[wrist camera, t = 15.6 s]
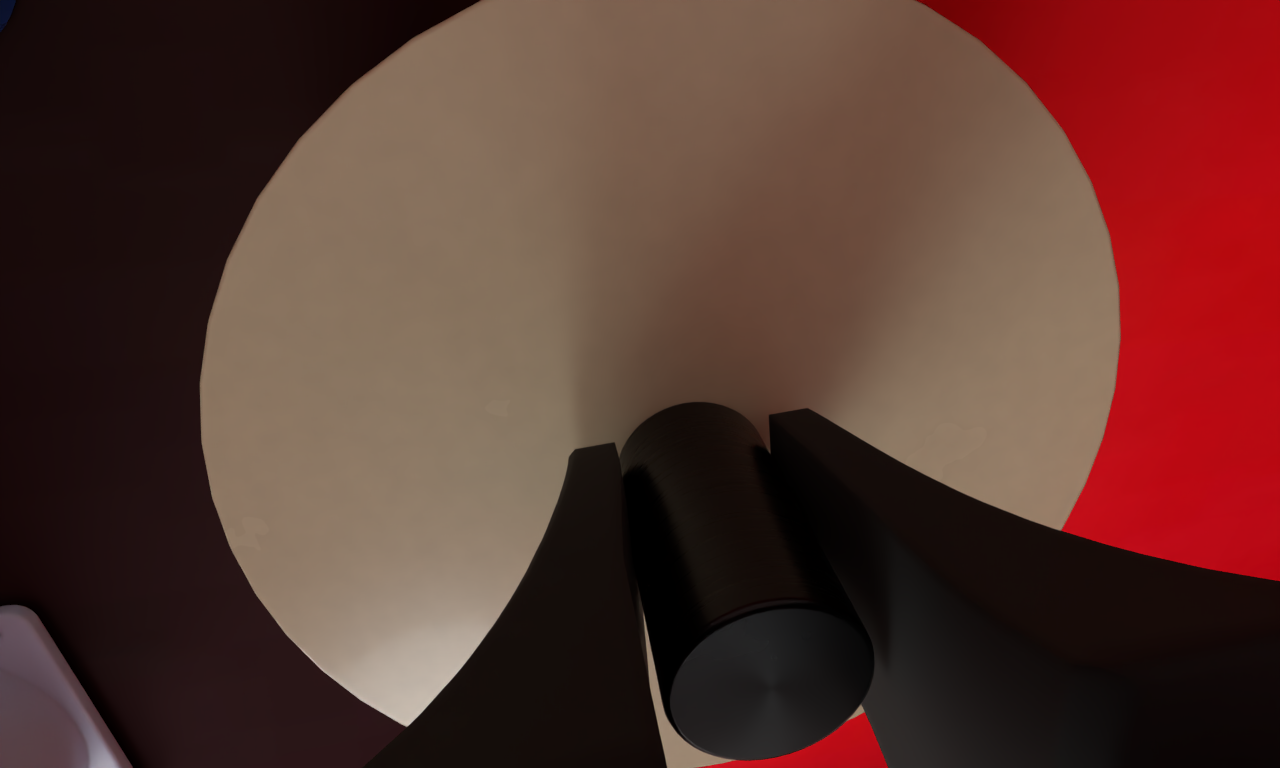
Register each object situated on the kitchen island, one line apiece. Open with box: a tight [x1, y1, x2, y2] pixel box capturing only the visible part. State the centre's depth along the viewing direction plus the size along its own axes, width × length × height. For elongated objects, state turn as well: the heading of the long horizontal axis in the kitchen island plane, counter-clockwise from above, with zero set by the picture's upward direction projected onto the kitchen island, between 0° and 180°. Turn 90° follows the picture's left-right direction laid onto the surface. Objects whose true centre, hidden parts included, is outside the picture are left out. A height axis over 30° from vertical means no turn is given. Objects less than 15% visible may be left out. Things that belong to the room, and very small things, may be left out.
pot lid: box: [200, 0, 1121, 768], centre depth 11 cm, size 14×14×6 cm
